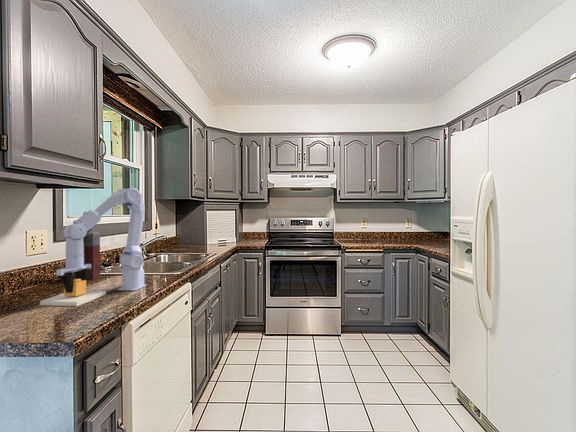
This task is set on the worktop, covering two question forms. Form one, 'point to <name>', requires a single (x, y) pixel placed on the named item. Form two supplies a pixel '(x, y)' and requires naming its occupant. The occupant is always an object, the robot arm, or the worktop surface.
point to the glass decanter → (92, 253)
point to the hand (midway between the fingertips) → (74, 290)
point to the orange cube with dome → (77, 288)
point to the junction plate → (72, 299)
